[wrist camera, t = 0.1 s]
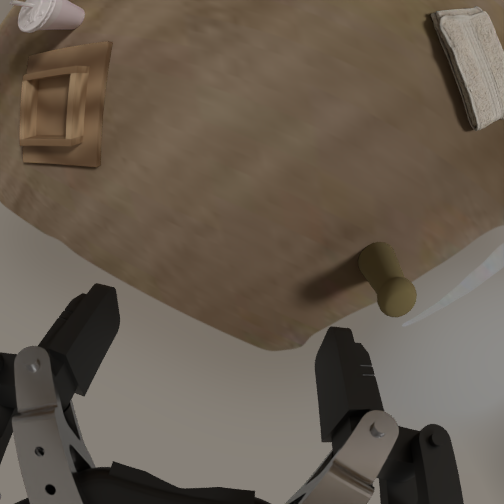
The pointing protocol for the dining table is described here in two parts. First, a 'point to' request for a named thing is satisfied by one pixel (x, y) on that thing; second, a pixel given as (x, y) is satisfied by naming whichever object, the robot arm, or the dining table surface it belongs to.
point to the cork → (387, 279)
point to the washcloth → (474, 62)
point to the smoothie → (48, 15)
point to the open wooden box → (64, 105)
